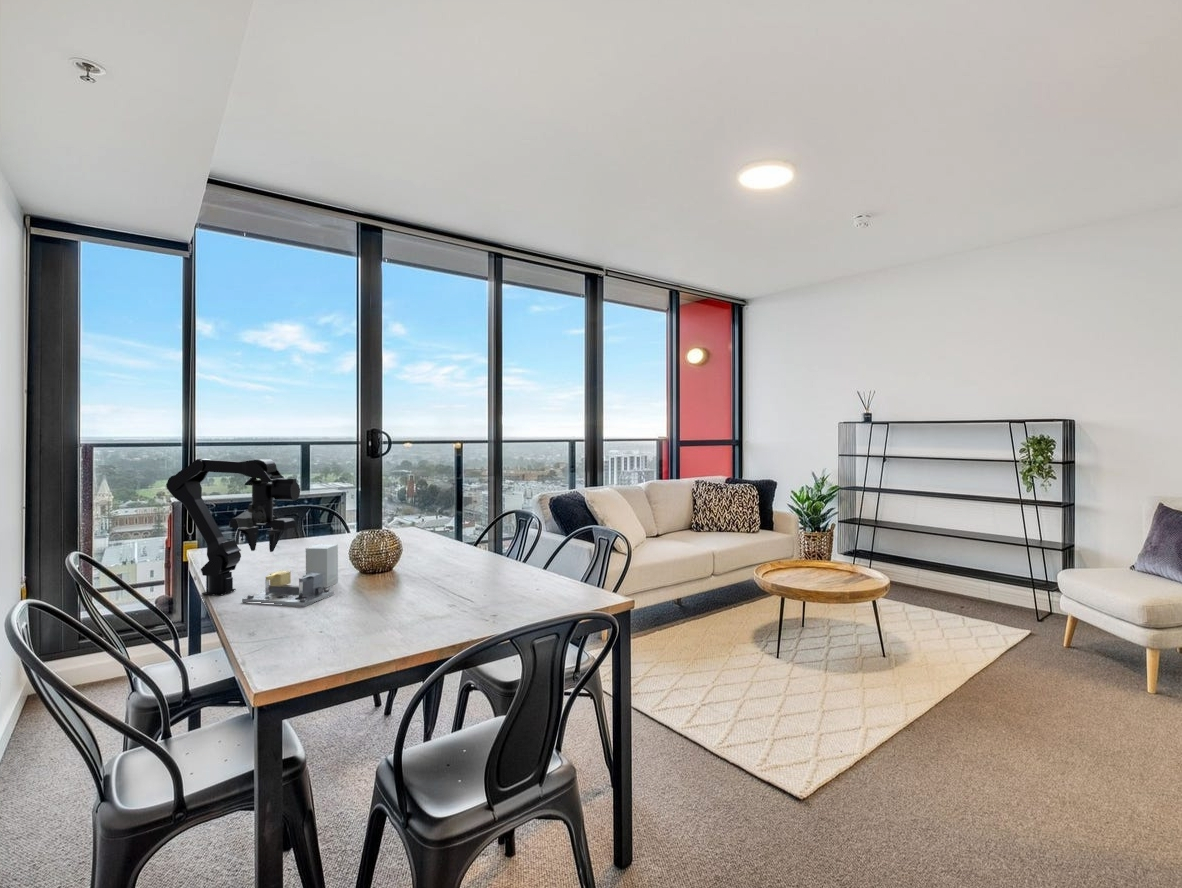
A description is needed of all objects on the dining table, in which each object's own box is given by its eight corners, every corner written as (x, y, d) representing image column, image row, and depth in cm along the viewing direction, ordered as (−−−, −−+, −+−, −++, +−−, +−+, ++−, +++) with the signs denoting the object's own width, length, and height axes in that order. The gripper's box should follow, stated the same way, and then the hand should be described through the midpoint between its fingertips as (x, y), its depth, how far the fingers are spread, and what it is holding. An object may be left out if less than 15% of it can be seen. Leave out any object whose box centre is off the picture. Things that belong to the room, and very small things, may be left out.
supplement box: (338, 582, 200) (338, 544, 200) (326, 588, 192) (326, 548, 192) (317, 581, 200) (317, 543, 200) (304, 587, 193) (304, 547, 193)
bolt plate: (242, 602, 174) (242, 578, 174) (276, 590, 188) (276, 568, 188) (304, 607, 171) (304, 582, 171) (334, 594, 184) (334, 571, 184)
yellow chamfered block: (260, 594, 177) (260, 576, 177) (280, 588, 185) (280, 570, 185) (271, 595, 177) (271, 577, 177) (290, 588, 185) (290, 571, 185)
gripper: (215, 502, 178) (214, 554, 178) (270, 504, 175) (270, 557, 175) (243, 498, 189) (243, 548, 189) (296, 500, 186) (296, 550, 186)
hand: (262, 551), depth 185 cm, fingers open, 6 cm apart
